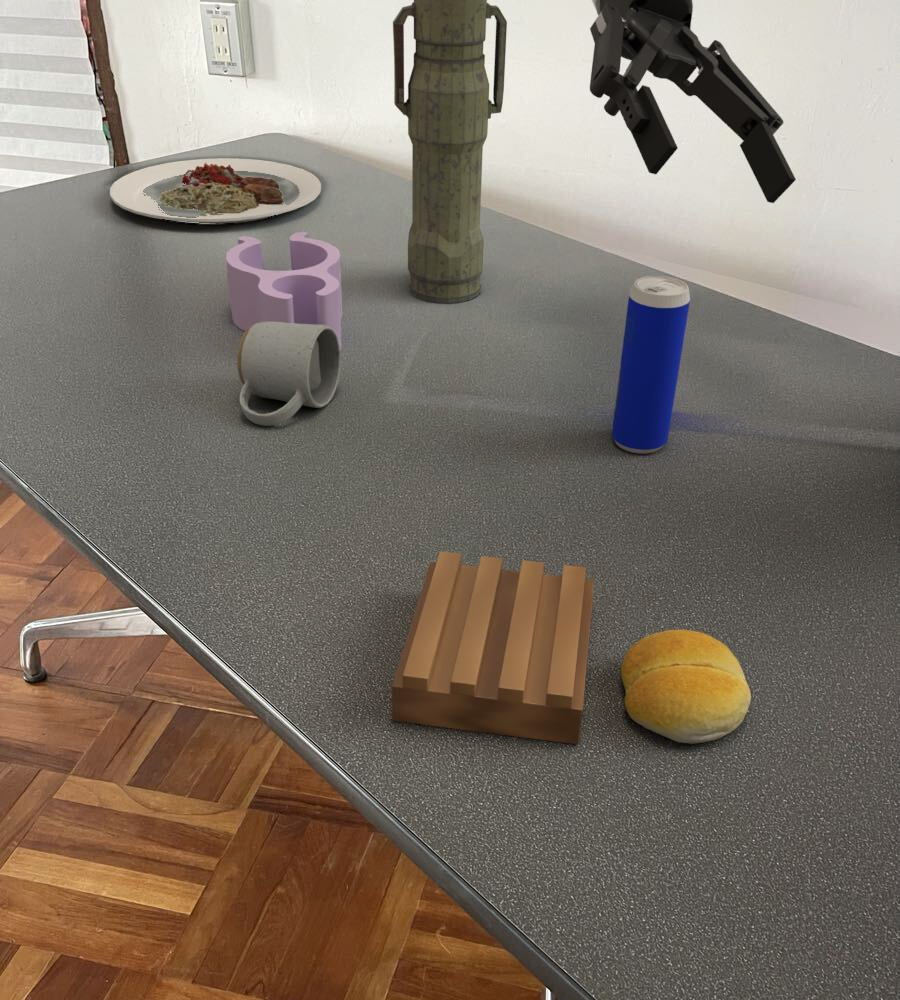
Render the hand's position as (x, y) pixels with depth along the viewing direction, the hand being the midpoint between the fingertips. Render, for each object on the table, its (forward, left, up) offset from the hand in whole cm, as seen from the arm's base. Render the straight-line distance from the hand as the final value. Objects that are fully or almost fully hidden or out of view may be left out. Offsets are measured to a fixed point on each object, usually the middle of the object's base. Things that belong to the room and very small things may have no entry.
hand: (725, 176), depth 87 cm
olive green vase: (+28, -32, -24) cm, 49 cm away
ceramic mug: (+38, +1, -24) cm, 45 cm away
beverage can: (+4, +2, -24) cm, 24 cm away
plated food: (+66, -60, -24) cm, 92 cm away
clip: (+43, -18, -24) cm, 52 cm away
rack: (+13, +36, -24) cm, 45 cm away
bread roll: (+1, +37, -24) cm, 44 cm away
